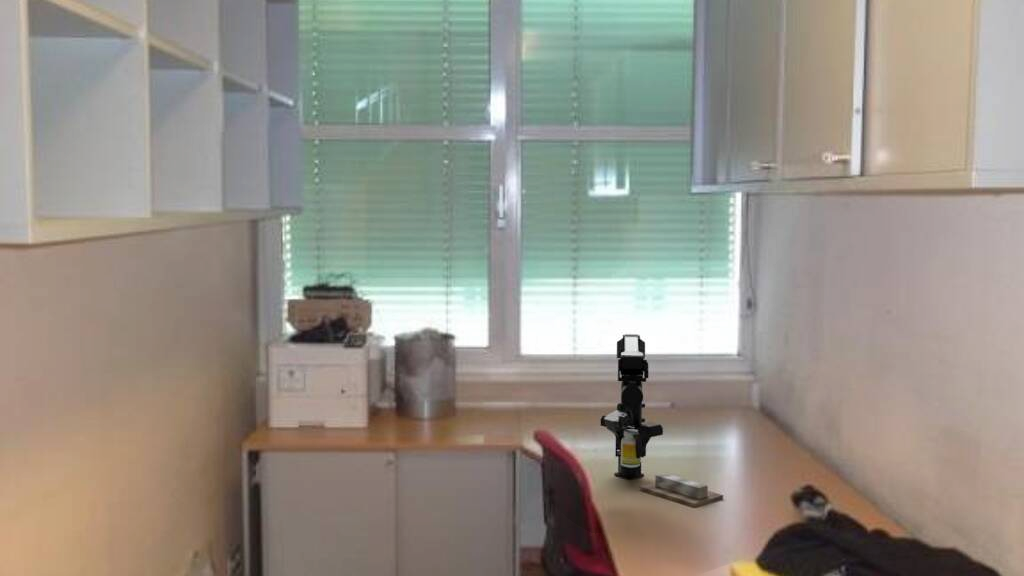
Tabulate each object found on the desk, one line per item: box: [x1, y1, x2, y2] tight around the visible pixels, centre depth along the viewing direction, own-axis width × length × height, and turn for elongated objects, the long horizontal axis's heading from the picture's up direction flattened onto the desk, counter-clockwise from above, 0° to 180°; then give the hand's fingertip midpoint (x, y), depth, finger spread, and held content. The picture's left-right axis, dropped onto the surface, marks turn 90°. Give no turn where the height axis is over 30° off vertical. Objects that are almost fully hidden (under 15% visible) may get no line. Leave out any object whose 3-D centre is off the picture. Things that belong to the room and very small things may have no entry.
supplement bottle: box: [621, 429, 640, 467], centre depth 274 cm, size 5×5×10 cm
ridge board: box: [639, 472, 724, 508], centre depth 279 cm, size 20×12×4 cm, turn 39°
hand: (630, 456), depth 274 cm, fingers closed on supplement bottle, 5 cm apart
